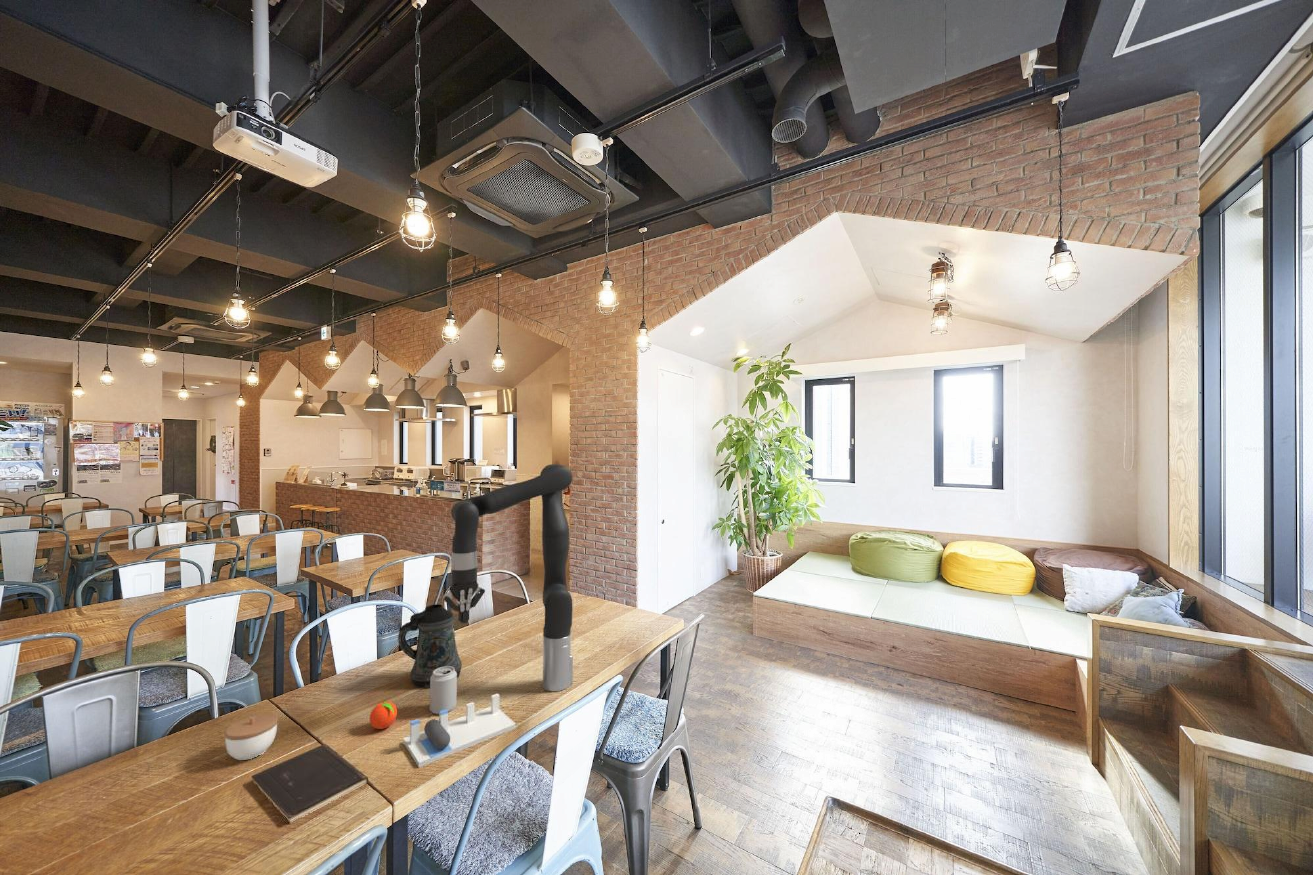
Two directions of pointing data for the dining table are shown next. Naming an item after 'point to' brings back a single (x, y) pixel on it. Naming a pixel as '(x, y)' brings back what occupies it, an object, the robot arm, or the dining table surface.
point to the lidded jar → (251, 736)
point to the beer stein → (431, 644)
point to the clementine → (383, 715)
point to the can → (443, 689)
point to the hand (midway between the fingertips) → (463, 622)
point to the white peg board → (459, 732)
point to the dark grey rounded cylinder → (437, 734)
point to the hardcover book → (309, 781)
